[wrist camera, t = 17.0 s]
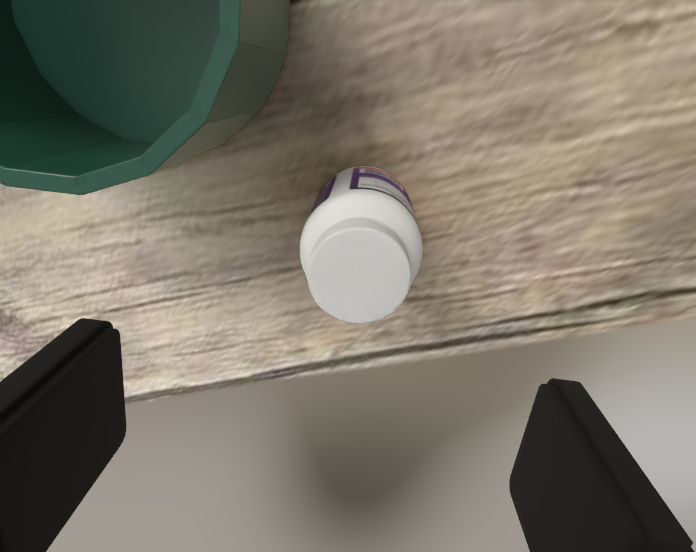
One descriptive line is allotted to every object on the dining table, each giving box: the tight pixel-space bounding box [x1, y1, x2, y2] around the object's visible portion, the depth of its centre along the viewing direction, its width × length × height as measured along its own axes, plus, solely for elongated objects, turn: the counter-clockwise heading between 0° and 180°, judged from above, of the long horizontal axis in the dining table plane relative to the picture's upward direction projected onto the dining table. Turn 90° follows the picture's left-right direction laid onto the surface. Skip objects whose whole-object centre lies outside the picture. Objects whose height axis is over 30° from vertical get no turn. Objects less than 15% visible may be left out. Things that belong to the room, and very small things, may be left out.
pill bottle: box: [300, 166, 423, 323], centre depth 23 cm, size 5×5×10 cm
